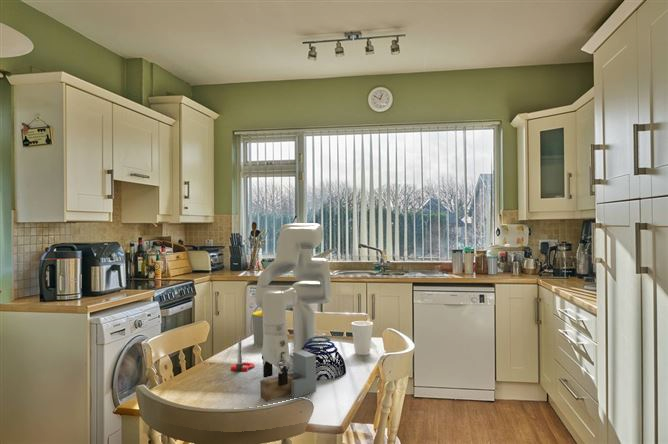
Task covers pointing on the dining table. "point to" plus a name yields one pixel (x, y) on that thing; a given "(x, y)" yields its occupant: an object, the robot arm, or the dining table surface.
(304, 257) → the robot arm
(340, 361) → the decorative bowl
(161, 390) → the dining table surface
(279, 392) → the brown wooden block
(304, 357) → the grey stepped block
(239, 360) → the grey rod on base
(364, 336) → the foam cup
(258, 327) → the soap bottle
